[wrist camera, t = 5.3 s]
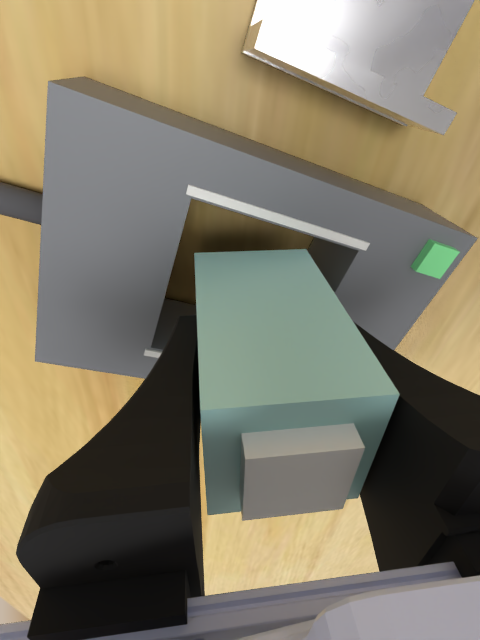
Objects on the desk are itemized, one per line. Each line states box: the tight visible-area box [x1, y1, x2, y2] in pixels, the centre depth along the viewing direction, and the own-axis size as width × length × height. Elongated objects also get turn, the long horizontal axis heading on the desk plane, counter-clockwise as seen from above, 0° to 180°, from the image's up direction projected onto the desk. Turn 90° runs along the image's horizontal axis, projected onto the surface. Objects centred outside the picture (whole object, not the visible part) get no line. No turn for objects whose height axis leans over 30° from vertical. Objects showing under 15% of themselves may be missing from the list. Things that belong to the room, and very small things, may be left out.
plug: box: [194, 249, 400, 521], centre depth 11 cm, size 4×4×8 cm
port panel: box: [35, 77, 478, 379], centre depth 15 cm, size 15×10×4 cm, turn 70°
